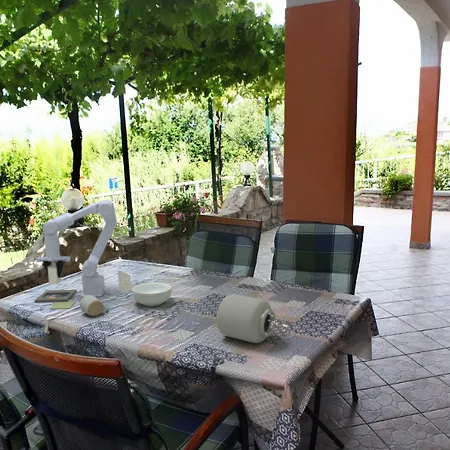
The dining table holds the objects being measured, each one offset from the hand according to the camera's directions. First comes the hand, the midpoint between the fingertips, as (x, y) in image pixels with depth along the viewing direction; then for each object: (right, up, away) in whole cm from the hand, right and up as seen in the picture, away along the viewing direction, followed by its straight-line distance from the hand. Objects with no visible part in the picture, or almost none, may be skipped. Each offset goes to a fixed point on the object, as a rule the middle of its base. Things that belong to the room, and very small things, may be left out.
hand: (54, 277), depth 207 cm
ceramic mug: (+24, -13, -20) cm, 33 cm away
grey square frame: (0, -9, +2) cm, 9 cm away
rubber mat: (+7, -11, -10) cm, 17 cm away
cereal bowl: (+45, -10, -9) cm, 47 cm away
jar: (+88, -16, -48) cm, 101 cm away
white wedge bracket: (+30, -8, +10) cm, 33 cm away
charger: (0, -2, 0) cm, 2 cm away
